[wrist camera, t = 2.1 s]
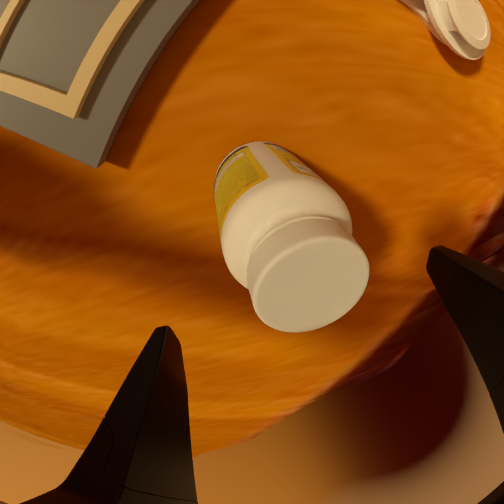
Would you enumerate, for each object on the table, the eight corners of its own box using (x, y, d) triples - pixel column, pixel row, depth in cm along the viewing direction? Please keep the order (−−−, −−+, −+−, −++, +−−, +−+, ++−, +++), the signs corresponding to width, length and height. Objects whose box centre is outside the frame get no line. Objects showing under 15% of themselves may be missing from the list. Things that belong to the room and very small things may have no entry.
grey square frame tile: (105, 161, 14) (92, 171, 12) (-31, 103, 8) (-49, 108, 6) (231, -34, 8) (235, -49, 7) (60, -66, 2) (48, -75, 1)
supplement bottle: (220, 228, 18) (238, 357, 10) (207, 146, 15) (211, 228, 7) (301, 216, 18) (371, 326, 10) (299, 136, 15) (402, 203, 7)
